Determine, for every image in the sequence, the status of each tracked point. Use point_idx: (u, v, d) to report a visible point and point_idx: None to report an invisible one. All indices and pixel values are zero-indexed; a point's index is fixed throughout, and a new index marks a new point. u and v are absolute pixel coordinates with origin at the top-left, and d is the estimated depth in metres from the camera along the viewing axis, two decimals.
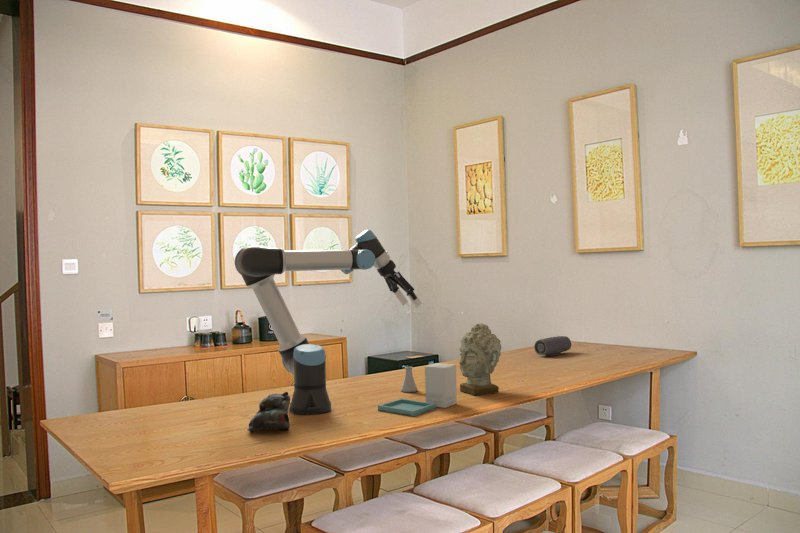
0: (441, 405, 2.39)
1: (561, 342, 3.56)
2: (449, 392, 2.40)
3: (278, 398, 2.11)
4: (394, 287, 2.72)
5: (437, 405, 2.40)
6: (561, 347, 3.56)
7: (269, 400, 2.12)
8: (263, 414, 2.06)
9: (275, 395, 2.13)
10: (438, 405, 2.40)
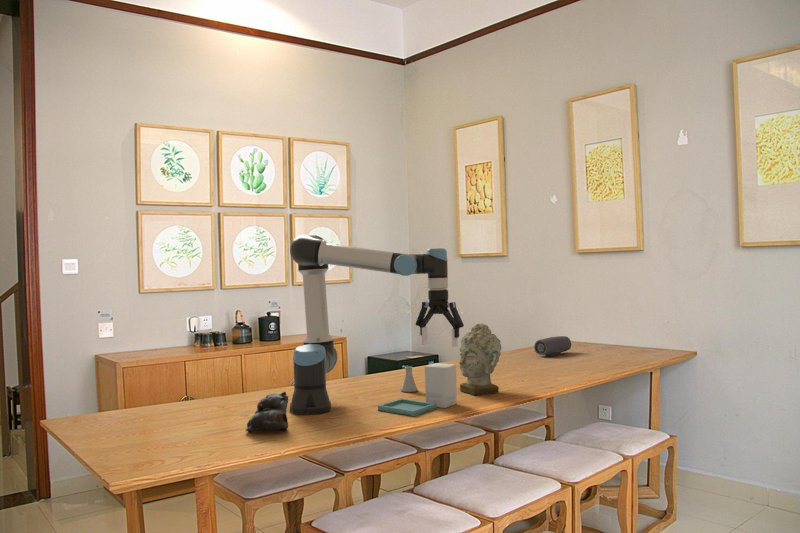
0: (441, 405, 2.39)
1: (561, 342, 3.56)
2: (449, 392, 2.40)
3: (276, 398, 2.11)
4: (426, 321, 2.48)
5: (437, 405, 2.40)
6: (561, 347, 3.56)
7: (267, 400, 2.12)
8: (261, 414, 2.06)
9: (273, 395, 2.13)
10: (438, 405, 2.40)
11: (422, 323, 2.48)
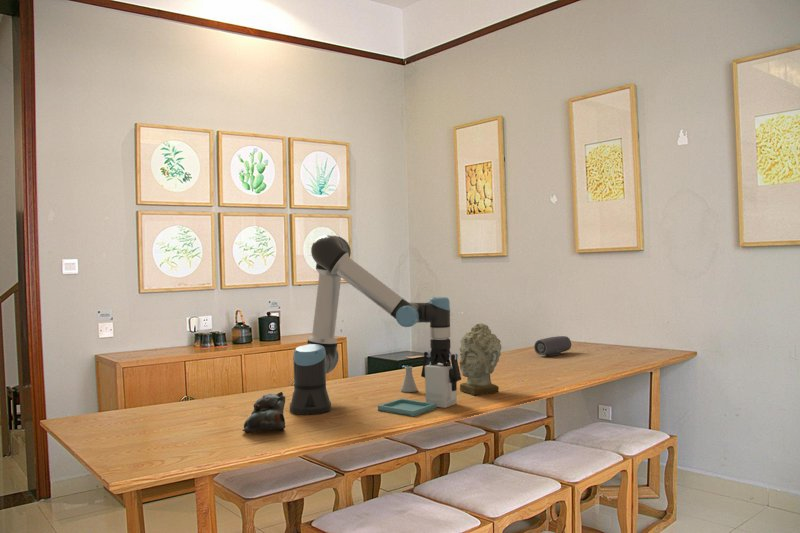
0: (441, 405, 2.39)
1: (561, 342, 3.56)
2: None
3: (273, 398, 2.11)
4: None
5: (437, 405, 2.40)
6: (561, 347, 3.56)
7: (264, 400, 2.11)
8: (259, 415, 2.06)
9: (270, 395, 2.13)
10: (438, 405, 2.40)
11: None
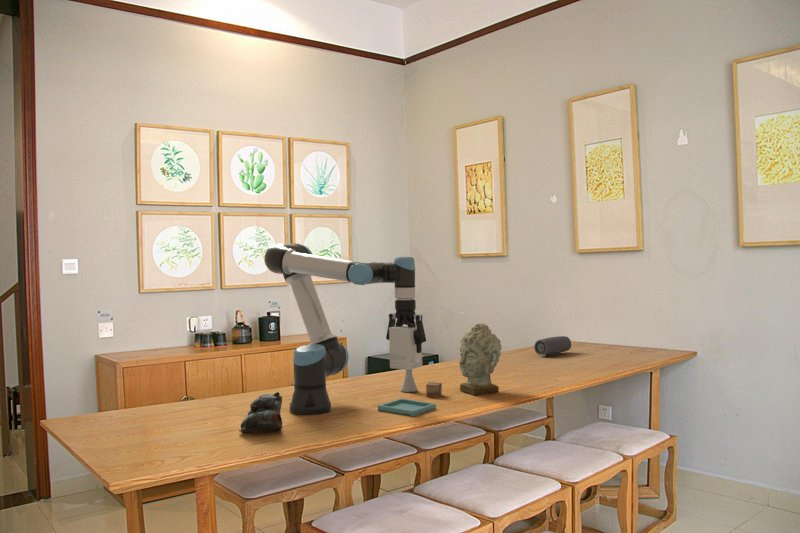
0: (405, 367, 2.32)
1: (561, 342, 3.56)
2: (413, 354, 2.33)
3: (270, 398, 2.11)
4: None
5: (401, 367, 2.33)
6: (561, 347, 3.56)
7: (261, 401, 2.11)
8: (256, 415, 2.05)
9: (267, 395, 2.13)
10: (402, 367, 2.32)
11: None
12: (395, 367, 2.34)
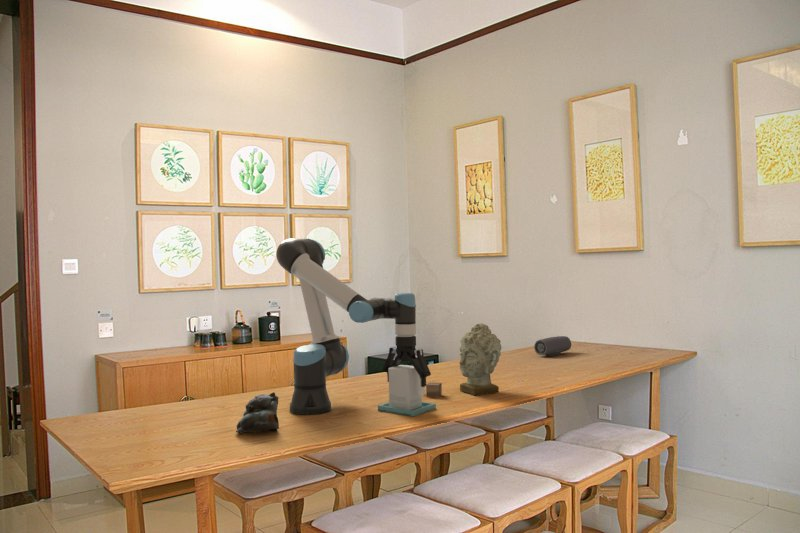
0: (404, 408, 2.32)
1: (561, 342, 3.56)
2: (412, 395, 2.33)
3: (266, 399, 2.11)
4: None
5: None
6: (561, 347, 3.56)
7: (257, 401, 2.11)
8: (253, 415, 2.05)
9: (263, 396, 2.12)
10: (401, 408, 2.33)
11: None
12: None
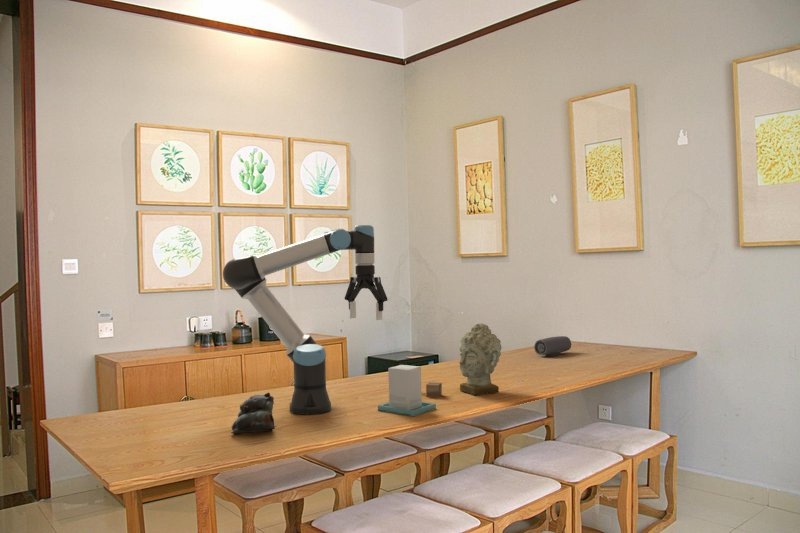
0: (404, 408, 2.32)
1: (561, 342, 3.56)
2: (412, 395, 2.33)
3: (262, 399, 2.10)
4: (354, 295, 2.57)
5: None
6: (561, 347, 3.56)
7: (252, 401, 2.10)
8: (249, 416, 2.04)
9: (258, 396, 2.12)
10: (401, 408, 2.33)
11: (350, 297, 2.57)
12: None
